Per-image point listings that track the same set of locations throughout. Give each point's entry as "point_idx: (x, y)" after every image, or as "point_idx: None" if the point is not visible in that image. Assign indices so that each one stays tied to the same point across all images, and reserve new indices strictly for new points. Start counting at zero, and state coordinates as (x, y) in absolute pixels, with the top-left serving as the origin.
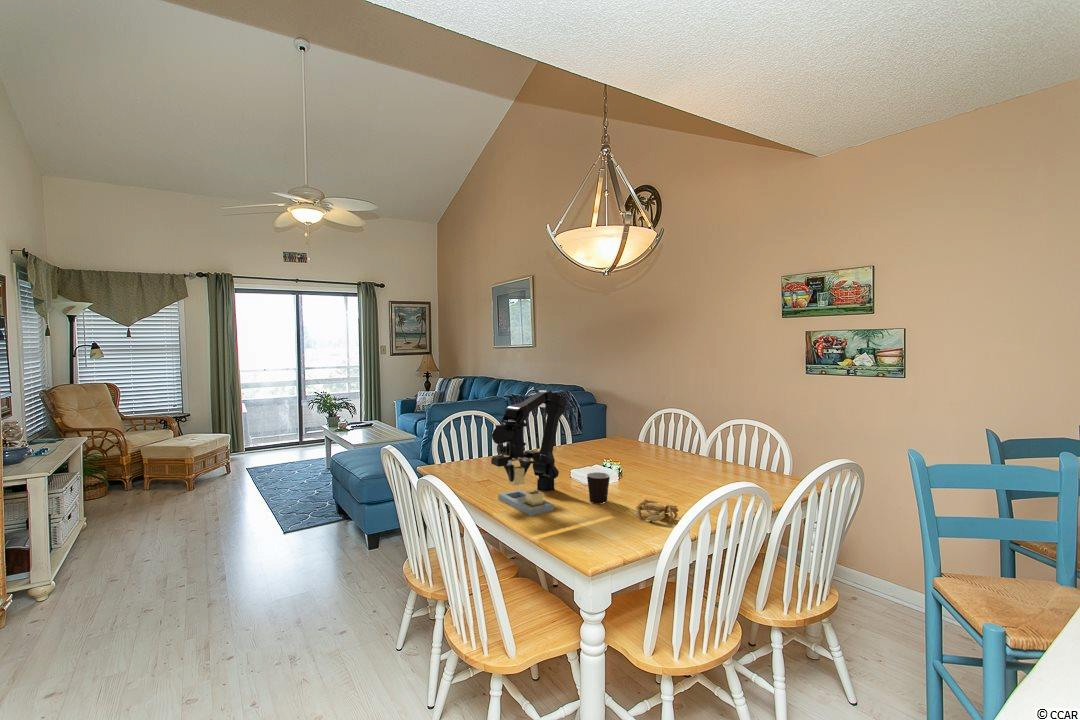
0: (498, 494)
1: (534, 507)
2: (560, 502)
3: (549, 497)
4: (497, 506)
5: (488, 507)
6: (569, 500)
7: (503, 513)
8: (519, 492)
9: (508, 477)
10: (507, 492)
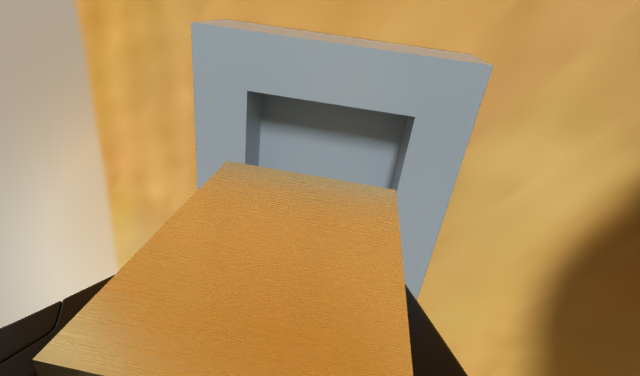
0: (192, 29)
1: None
2: (556, 345)
3: (625, 238)
4: (166, 112)
5: (97, 81)
6: (636, 362)
7: (142, 239)
8: (410, 128)
9: (190, 199)
10: (303, 50)
